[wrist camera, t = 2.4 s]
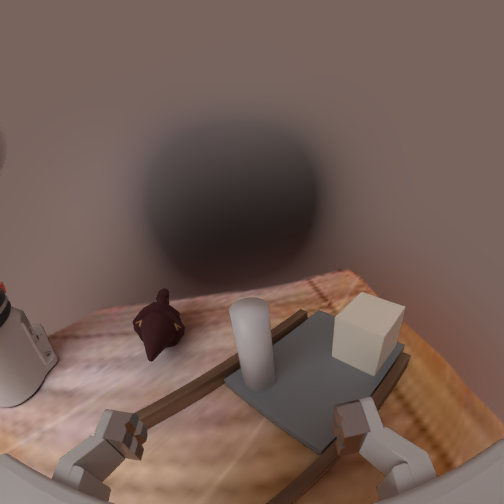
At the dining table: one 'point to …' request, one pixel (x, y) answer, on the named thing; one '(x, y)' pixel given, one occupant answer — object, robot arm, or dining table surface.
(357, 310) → the block
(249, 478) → the dining table surface
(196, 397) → the rails
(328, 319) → the board
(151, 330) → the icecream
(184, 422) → the dining table surface
